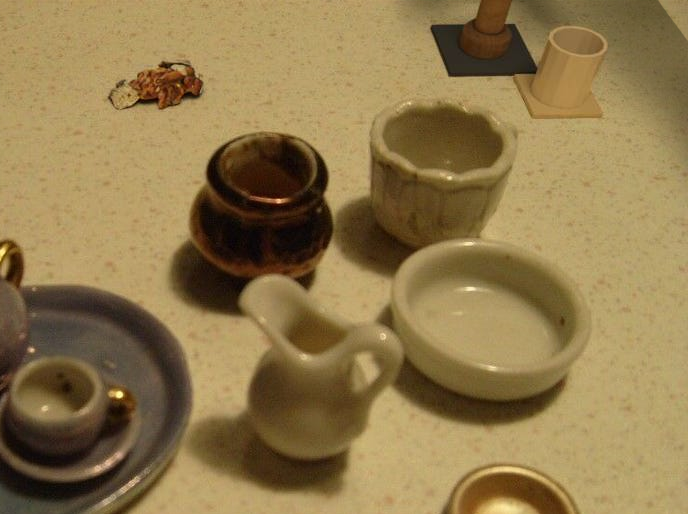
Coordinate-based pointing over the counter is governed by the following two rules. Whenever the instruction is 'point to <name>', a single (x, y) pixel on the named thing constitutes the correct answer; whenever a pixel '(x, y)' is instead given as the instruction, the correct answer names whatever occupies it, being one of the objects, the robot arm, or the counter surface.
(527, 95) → the cream mat
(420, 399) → the counter surface
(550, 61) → the cream cup
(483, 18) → the mortar and pestle
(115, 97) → the pastry
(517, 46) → the slate mat
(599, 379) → the counter surface
